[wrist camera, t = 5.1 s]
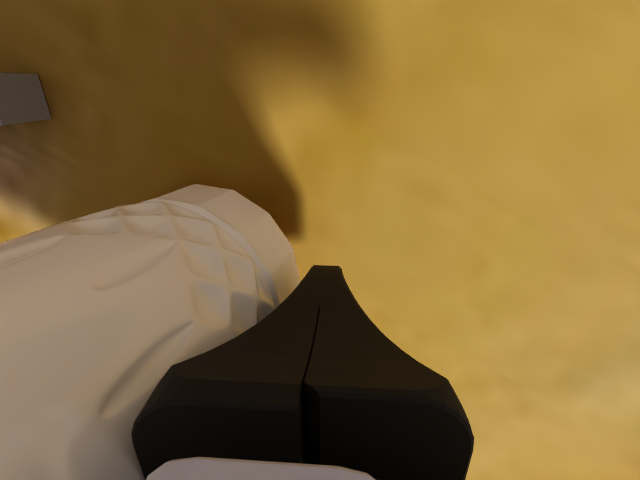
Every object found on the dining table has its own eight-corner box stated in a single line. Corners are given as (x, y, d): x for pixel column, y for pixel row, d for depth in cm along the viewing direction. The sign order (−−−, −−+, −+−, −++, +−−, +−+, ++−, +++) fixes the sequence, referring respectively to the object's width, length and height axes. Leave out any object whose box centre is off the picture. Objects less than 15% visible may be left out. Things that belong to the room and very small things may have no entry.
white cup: (123, 278, 16) (-248, 512, 7) (165, 123, 12) (-513, 231, 3) (266, 373, 16) (58, 732, 7) (355, 247, 12) (141, 696, 3)
